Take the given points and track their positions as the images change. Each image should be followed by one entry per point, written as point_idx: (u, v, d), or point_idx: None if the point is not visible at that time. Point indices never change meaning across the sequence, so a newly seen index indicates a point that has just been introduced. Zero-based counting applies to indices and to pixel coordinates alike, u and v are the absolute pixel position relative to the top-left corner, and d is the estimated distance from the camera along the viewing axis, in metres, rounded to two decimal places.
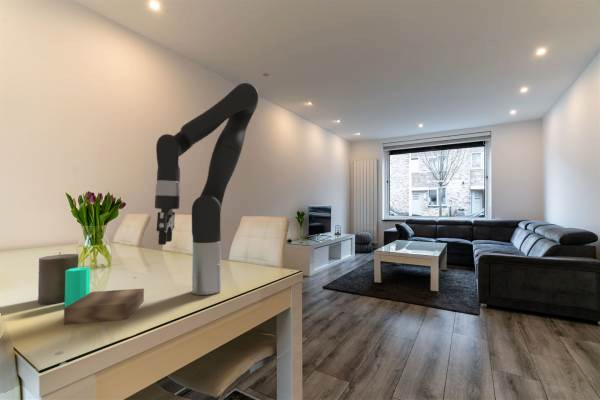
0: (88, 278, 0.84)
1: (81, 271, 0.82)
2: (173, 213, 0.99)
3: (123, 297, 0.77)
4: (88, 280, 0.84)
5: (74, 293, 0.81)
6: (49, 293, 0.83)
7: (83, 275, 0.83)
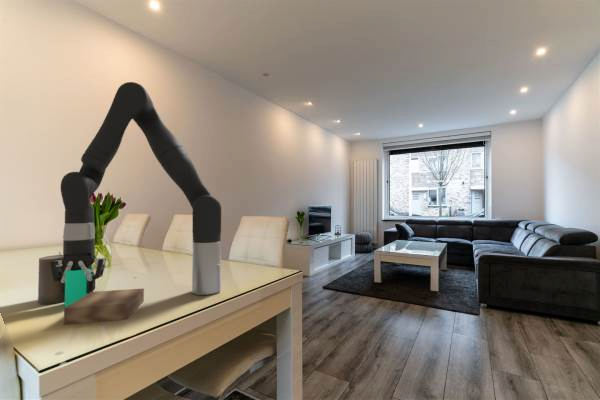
0: None
1: (81, 271, 0.82)
2: None
3: (123, 297, 0.77)
4: None
5: (74, 293, 0.81)
6: (49, 293, 0.83)
7: (83, 275, 0.83)
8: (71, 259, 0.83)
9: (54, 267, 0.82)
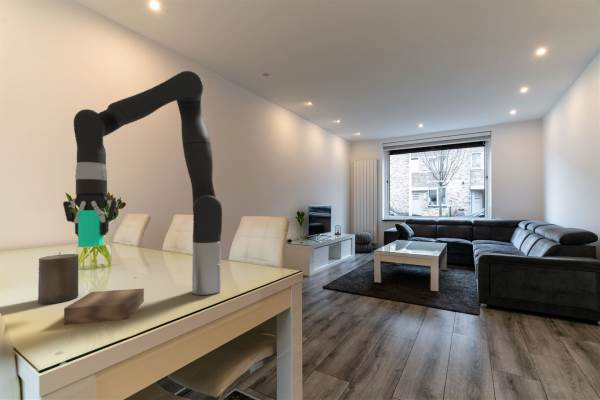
0: None
1: (94, 211, 0.81)
2: None
3: (123, 297, 0.77)
4: (101, 222, 0.83)
5: (87, 233, 0.79)
6: (49, 293, 0.83)
7: (96, 216, 0.81)
8: (84, 200, 0.81)
9: (67, 207, 0.80)
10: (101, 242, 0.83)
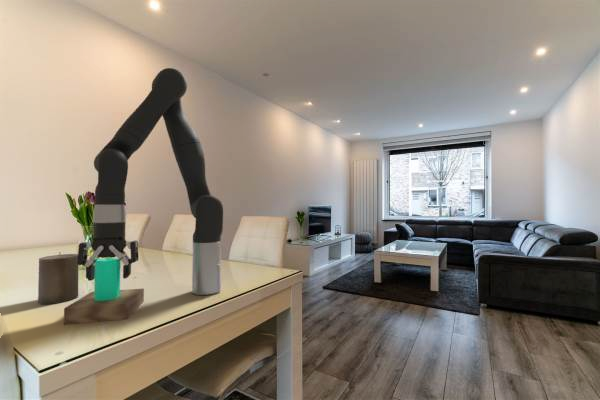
0: (119, 270, 0.78)
1: (112, 262, 0.76)
2: None
3: (123, 297, 0.77)
4: (119, 272, 0.78)
5: (105, 286, 0.74)
6: (49, 293, 0.83)
7: (114, 266, 0.76)
8: (101, 244, 0.76)
9: (81, 249, 0.75)
10: (119, 294, 0.78)
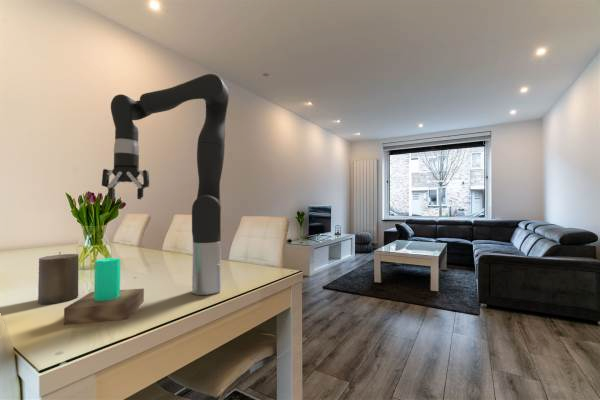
0: (119, 270, 0.78)
1: (112, 262, 0.76)
2: None
3: (123, 297, 0.77)
4: (119, 272, 0.78)
5: (105, 286, 0.74)
6: (49, 293, 0.83)
7: (114, 266, 0.76)
8: (120, 170, 0.96)
9: (105, 174, 0.95)
10: (119, 294, 0.78)
